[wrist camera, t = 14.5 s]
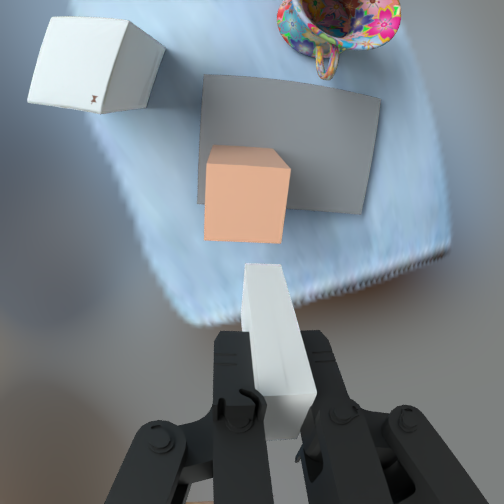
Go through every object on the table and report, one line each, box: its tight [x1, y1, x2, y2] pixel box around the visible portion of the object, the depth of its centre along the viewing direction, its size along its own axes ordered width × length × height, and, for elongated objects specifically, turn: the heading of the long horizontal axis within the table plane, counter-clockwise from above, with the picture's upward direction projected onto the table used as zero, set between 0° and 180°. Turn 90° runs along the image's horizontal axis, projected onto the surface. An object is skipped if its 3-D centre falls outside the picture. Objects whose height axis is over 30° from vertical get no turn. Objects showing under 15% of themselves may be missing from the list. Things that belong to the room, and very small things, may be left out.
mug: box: [277, 0, 401, 80], centre depth 21 cm, size 12×9×11 cm
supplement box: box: [27, 16, 166, 114], centre depth 21 cm, size 7×7×13 cm
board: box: [197, 74, 381, 215], centre depth 31 cm, size 14×19×2 cm
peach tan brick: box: [204, 145, 291, 244], centre depth 27 cm, size 6×6×10 cm
